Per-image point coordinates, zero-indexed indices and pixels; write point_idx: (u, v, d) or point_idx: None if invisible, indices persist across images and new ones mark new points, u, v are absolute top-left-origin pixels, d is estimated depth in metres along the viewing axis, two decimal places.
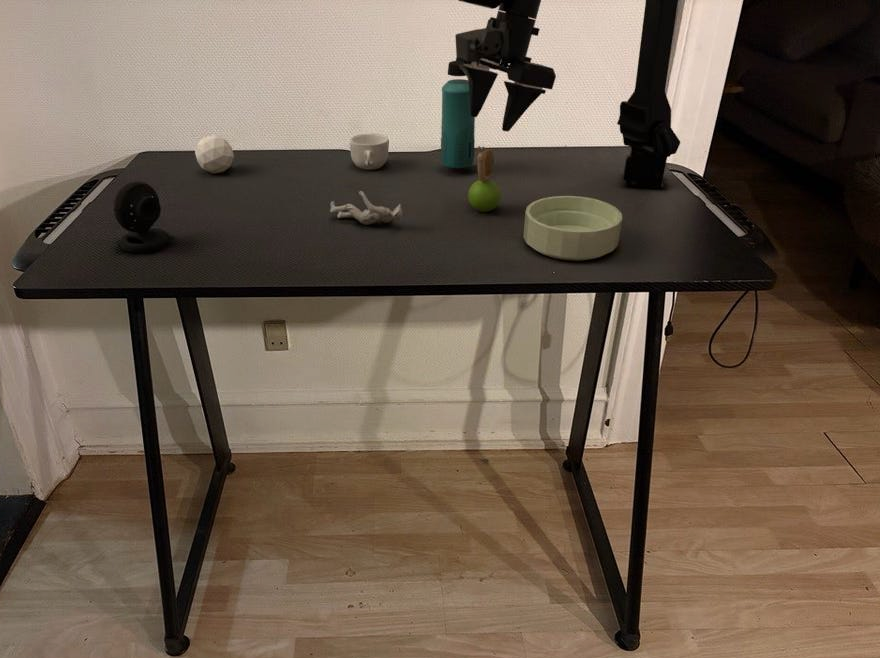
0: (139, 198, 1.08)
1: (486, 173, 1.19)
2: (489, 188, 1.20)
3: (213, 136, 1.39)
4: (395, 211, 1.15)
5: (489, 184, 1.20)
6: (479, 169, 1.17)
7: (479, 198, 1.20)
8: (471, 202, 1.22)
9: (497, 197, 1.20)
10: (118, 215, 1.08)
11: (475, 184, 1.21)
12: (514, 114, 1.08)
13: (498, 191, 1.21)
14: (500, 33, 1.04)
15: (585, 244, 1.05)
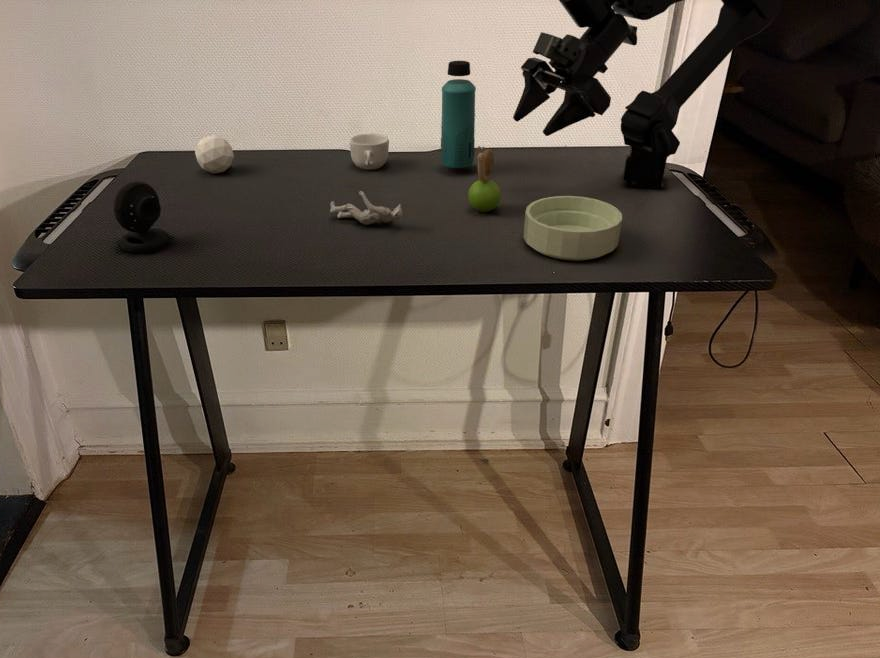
0: (139, 198, 1.08)
1: (486, 173, 1.19)
2: (489, 188, 1.20)
3: (213, 136, 1.39)
4: (395, 211, 1.15)
5: (489, 184, 1.20)
6: (479, 169, 1.17)
7: (479, 198, 1.20)
8: (471, 202, 1.22)
9: (497, 197, 1.20)
10: (118, 215, 1.08)
11: (475, 184, 1.21)
12: (559, 122, 1.14)
13: (498, 191, 1.21)
14: (579, 49, 1.13)
15: (585, 244, 1.05)
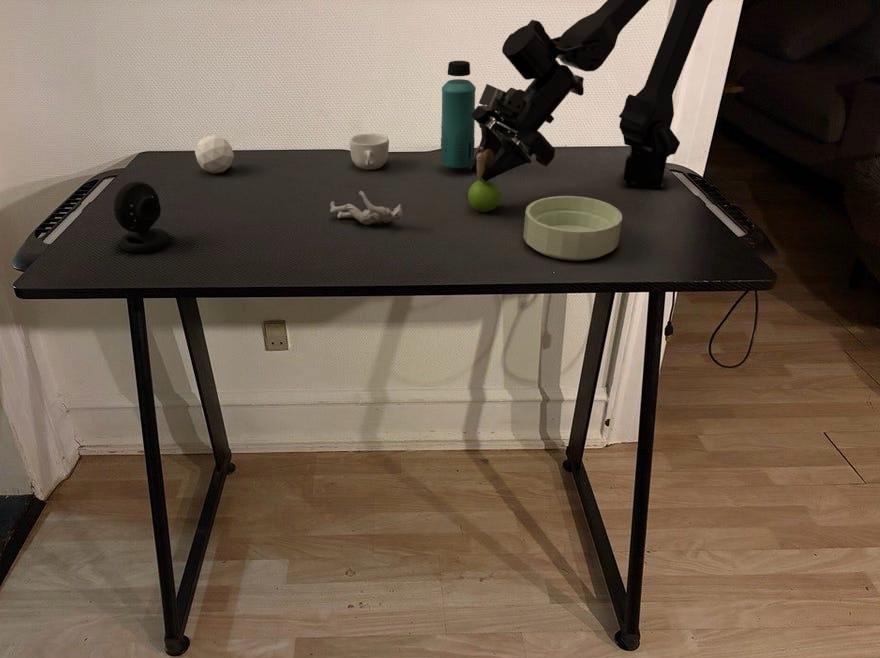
0: (139, 198, 1.08)
1: None
2: (489, 188, 1.20)
3: (213, 136, 1.39)
4: (395, 211, 1.15)
5: (489, 184, 1.20)
6: (478, 169, 1.17)
7: (478, 198, 1.20)
8: (471, 202, 1.22)
9: (496, 197, 1.20)
10: (118, 215, 1.08)
11: (475, 184, 1.21)
12: (497, 168, 1.17)
13: (498, 191, 1.21)
14: (524, 101, 1.13)
15: (585, 244, 1.05)
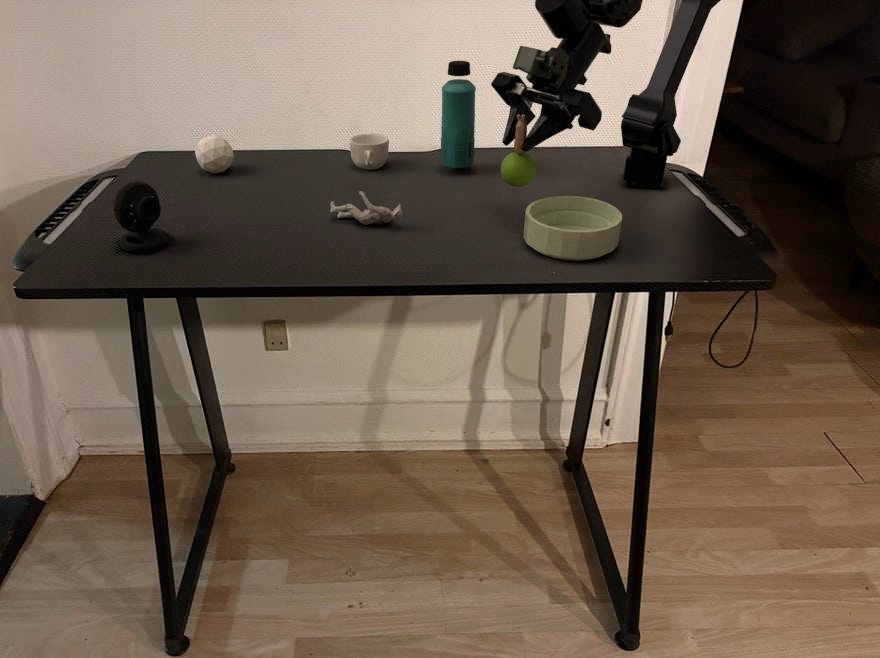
0: (139, 198, 1.08)
1: None
2: (526, 160, 1.11)
3: (213, 136, 1.39)
4: (395, 211, 1.15)
5: (526, 156, 1.11)
6: (518, 140, 1.08)
7: (516, 172, 1.11)
8: (506, 177, 1.12)
9: (534, 169, 1.12)
10: (118, 215, 1.08)
11: (509, 157, 1.11)
12: (537, 137, 1.08)
13: (534, 163, 1.12)
14: None
15: (585, 244, 1.05)
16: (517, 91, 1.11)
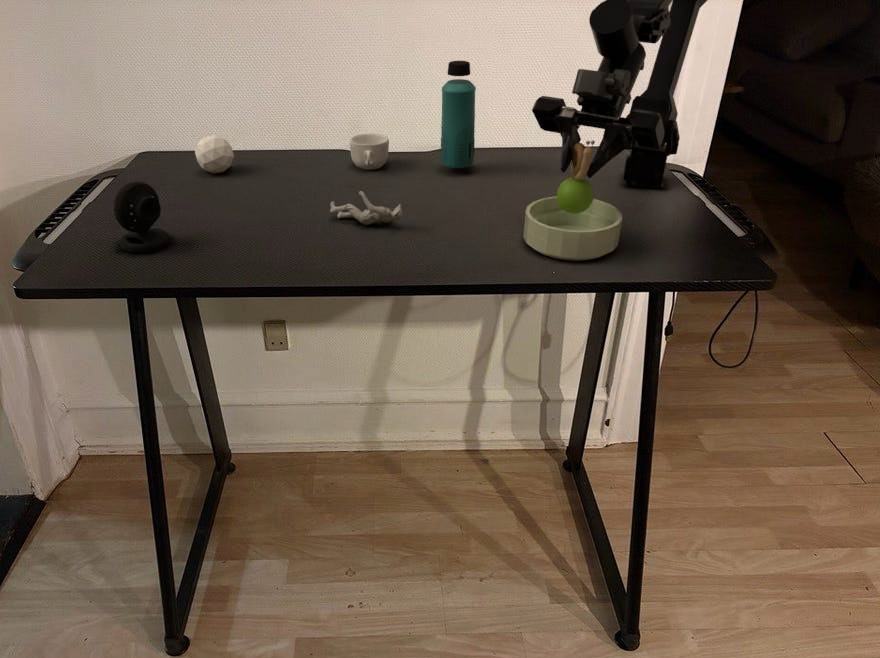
0: (139, 198, 1.08)
1: None
2: (588, 185, 1.06)
3: (213, 136, 1.39)
4: (395, 211, 1.15)
5: (585, 181, 1.07)
6: (585, 166, 1.03)
7: (580, 199, 1.06)
8: (568, 205, 1.07)
9: (593, 194, 1.08)
10: (118, 215, 1.08)
11: (570, 184, 1.06)
12: (601, 161, 1.04)
13: None
14: None
15: (585, 244, 1.05)
16: (567, 115, 1.06)
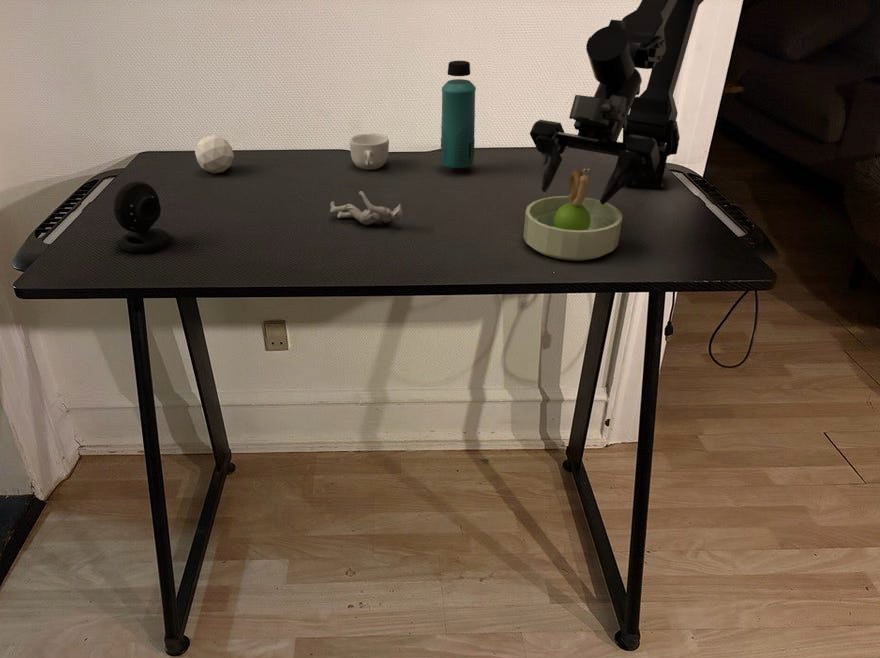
0: (139, 198, 1.08)
1: None
2: (584, 211, 1.09)
3: (213, 136, 1.39)
4: (395, 211, 1.15)
5: (582, 207, 1.09)
6: (581, 193, 1.05)
7: (576, 225, 1.08)
8: None
9: None
10: (118, 215, 1.08)
11: (566, 210, 1.09)
12: (615, 188, 1.04)
13: None
14: None
15: (585, 244, 1.05)
16: (548, 136, 1.09)
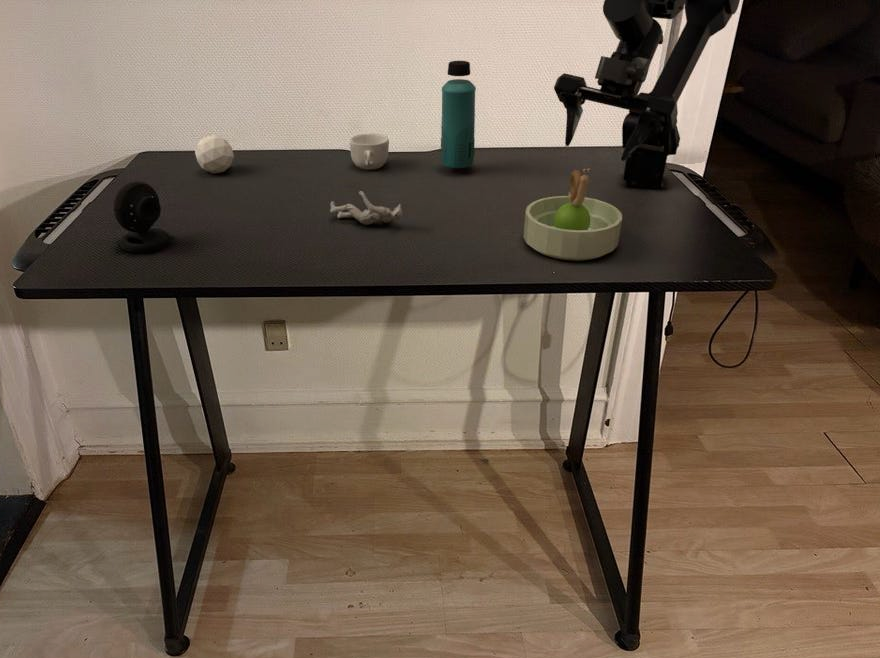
0: (139, 198, 1.08)
1: None
2: (584, 211, 1.09)
3: (213, 136, 1.39)
4: (395, 211, 1.15)
5: (582, 207, 1.09)
6: (581, 193, 1.05)
7: (576, 225, 1.08)
8: None
9: None
10: (118, 215, 1.08)
11: (566, 210, 1.09)
12: (635, 145, 1.11)
13: None
14: None
15: (585, 244, 1.05)
16: (572, 91, 1.13)
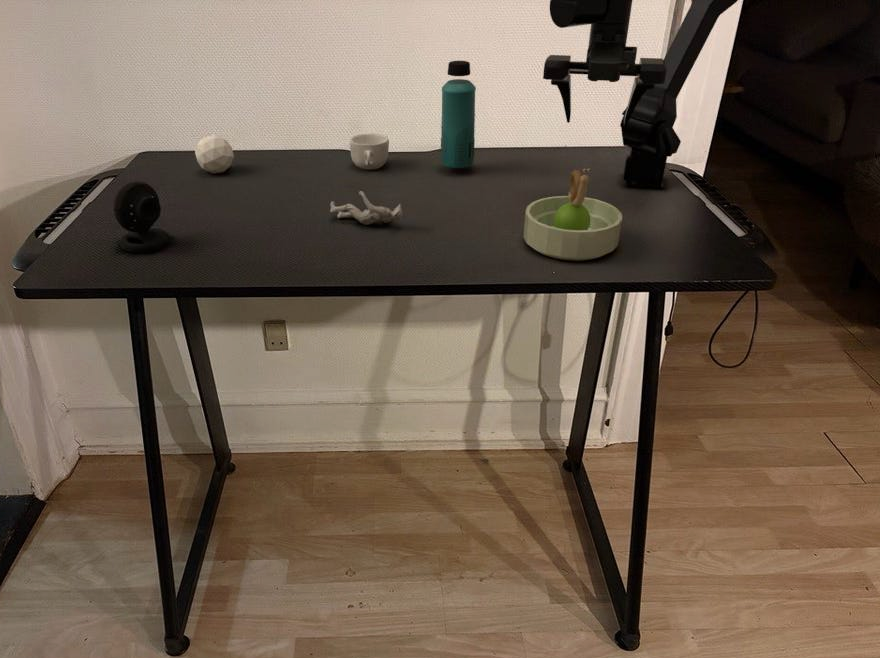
0: (139, 198, 1.08)
1: None
2: (584, 211, 1.09)
3: (213, 136, 1.39)
4: (395, 211, 1.15)
5: (582, 207, 1.09)
6: (581, 193, 1.05)
7: (576, 225, 1.08)
8: None
9: None
10: (118, 215, 1.08)
11: (566, 210, 1.09)
12: None
13: None
14: (621, 45, 1.10)
15: (585, 244, 1.05)
16: None
